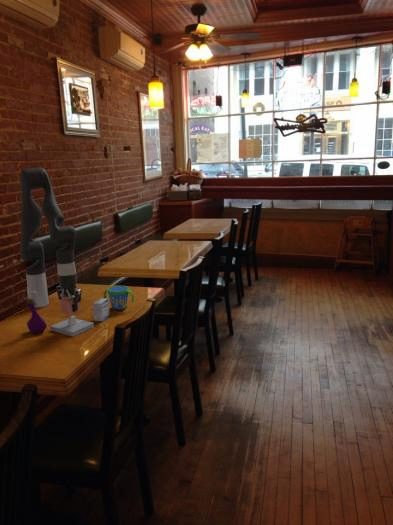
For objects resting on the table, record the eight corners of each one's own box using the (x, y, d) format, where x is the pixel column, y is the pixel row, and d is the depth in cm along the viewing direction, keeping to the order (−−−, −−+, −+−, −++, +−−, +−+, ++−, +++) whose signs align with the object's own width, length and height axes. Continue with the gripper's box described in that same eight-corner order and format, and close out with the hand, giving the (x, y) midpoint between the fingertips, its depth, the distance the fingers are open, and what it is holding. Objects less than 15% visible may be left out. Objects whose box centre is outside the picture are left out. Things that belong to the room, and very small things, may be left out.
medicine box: (103, 321, 196) (101, 303, 194) (94, 321, 197) (92, 303, 195) (110, 315, 204) (108, 298, 202) (101, 315, 205) (99, 297, 203)
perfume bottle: (29, 336, 182) (24, 295, 177) (27, 330, 188) (22, 291, 184) (47, 332, 185) (43, 292, 181) (45, 327, 191) (40, 288, 187)
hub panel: (51, 330, 187) (49, 318, 186) (72, 321, 197) (71, 310, 196) (72, 336, 180) (71, 324, 179) (94, 327, 190) (93, 315, 188)
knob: (61, 312, 185) (59, 296, 184) (72, 308, 190) (70, 293, 189) (69, 314, 183) (67, 298, 181) (80, 310, 188) (78, 294, 186)
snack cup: (138, 306, 216) (137, 286, 214) (127, 313, 207) (126, 292, 204) (111, 303, 222) (110, 284, 219) (100, 309, 212) (98, 290, 210)
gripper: (48, 272, 183) (52, 310, 187) (71, 276, 176) (75, 315, 179) (62, 269, 189) (66, 305, 193) (85, 272, 182) (88, 310, 186)
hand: (70, 310), depth 186 cm, fingers closed on knob, 5 cm apart
